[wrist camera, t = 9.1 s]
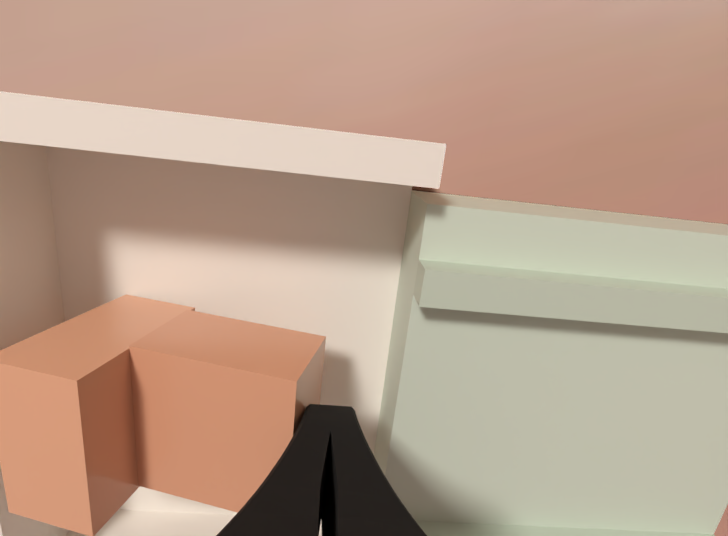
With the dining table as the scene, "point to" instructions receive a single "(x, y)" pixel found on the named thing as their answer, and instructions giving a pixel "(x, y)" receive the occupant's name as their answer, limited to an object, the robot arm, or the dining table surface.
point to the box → (204, 243)
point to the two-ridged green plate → (557, 371)
